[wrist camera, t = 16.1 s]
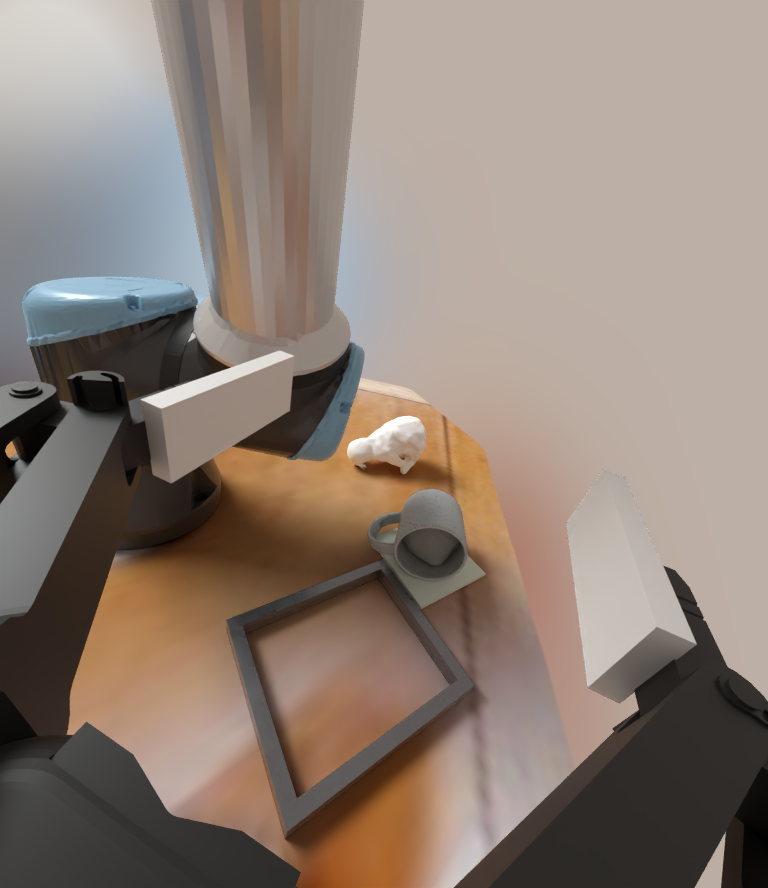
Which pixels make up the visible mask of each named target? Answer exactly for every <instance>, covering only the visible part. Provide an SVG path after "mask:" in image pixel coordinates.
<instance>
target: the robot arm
mask: <svg viewBox="0 0 768 888" xmlns="http://www.w3.org/2000/svg"><path fill="white" fill-rule="evenodd" d="M151 2H152V7H153V12H154V17H155V22H156V27H157V32H158V37H159V42H160V47H161V52H162V57H163V62H164V67H165V72H166V77H167V82H168V87H169V92H170V97H171V102H172V107H173V112H174V117H175V122H176V127H177V132H178V137H179V142H180V147H181V152H182V156H183V162H184V167H185V172H186V177H187V182H188V186H189V192H190V197H191V202H192V207H193V212H194V217H195V222H196V227H197V231H198V237H199V242H200V247H201V252H202V257H203V261H204V267H205V271H206V277H207V282H208V287H209V292H210V295H209V296H208V297H207V298H206V299H204V300H203V301H202V303H201V304H200V305H199V306H198V308H196V305H197V303H198V300H197V298H196V297H195V294H194V292H193V290H192V289H191V288H190V287H189V286H187V285H183V284H181V283H178V282H174V281H168V280H160V279H150V278H135V277H82V278H68V279H59V280H53V281H48V282H44V283H40V284H38V285H35V286H33V287H31V288H30V289H29V290H28V291H27V292H26V294H25V295H24V297H23V303H22V307H23V312H24V316H25V321H26V325H27V331H28V335H29V338H27V342H28V344H29V346H30V349H31V352H32V355H33V358H34V361H35V364H36V367H37V370H38V373H39V376H40V379H41V382H34V381H26V382H25V381H22V382H17V383H14V384H8V385H5V386H3V387H0V888H297V887H296V883H297V881H298V878H299V875H300V873H301V872H299V871H298V870H297V869H295V868H294V867H292V866H291V865H290V864H288V863H287V862H285V861H284V860H282V859H281V858H280V857H278V856H277V855H275V854H274V853H272V852H271V851H270V850H268V849H267V848H265V847H264V846H262V845H261V844H260V843H258V842H257V841H255V840H254V839H253V838H251V837H250V836H248V835H247V834H245V833H244V832H243V831H239V830H235V829H230V828H225V827H221V826H216V825H212V824H207V823H202V822H198V821H193V820H189V819H184V818H179V817H176V816H173V815H171V814H170V813H169V812H168V811H167V810H166V808H165V807H164V805H163V803H162V802H161V800H160V798H159V797H158V795H157V793H156V792H155V790H154V788H153V787H152V785H151V783H150V782H149V780H148V778H147V777H146V775H145V773H144V772H143V770H142V768H141V767H140V765H139V763H138V762H137V760H136V758H135V757H134V755H133V754H132V753H130V752H129V751H127V750H126V749H124V748H123V747H122V746H120V745H119V744H117V743H116V742H115V741H113V740H112V739H110V738H109V737H107V736H106V735H105V734H103V733H102V732H100V731H99V730H97V729H96V728H95V727H93V726H92V725H90V724H89V723H87V722H86V723H85V724H84V725H83V726H82V727H81V728H80V729H79V730H78V731H77V732H76V733H75V734H74V735H66V734H67V730H68V724H69V717H70V691H71V687H72V683H73V680H74V677H75V674H76V671H77V668H78V665H79V662H80V659H81V656H82V653H83V650H84V647H85V643H86V640H87V637H88V634H89V631H90V628H91V625H92V622H93V619H94V616H95V613H96V610H97V607H98V604H99V601H100V598H101V595H102V592H103V589H104V586H105V583H106V580H107V577H108V574H109V571H110V568H111V565H112V562H113V559H114V556H115V553H116V550H123V549H137V548H144V547H149V546H154V545H158V544H161V543H165V542H168V541H170V540H173V539H176V538H178V537H180V536H182V535H185V534H187V533H188V532H190V531H192V530H194V529H195V528H197V527H198V526H200V525H201V524H202V523H203V522H205V521H206V520H207V519H208V518H209V517H210V516H211V515H212V514H213V512H214V511H215V510H216V508H217V506H218V504H219V502H220V499H221V477H220V472H219V470H218V467H217V465H216V463H215V461H214V459H213V458H214V457H215V456H217V455H219V454H220V453H222V452H223V451H225V450H227V449H228V448H230V447H236V448H241V449H246V450H251V451H256V452H261V453H266V454H271V455H276V456H280V457H285V458H287V459H290V460H295V459H304V460H311V461H324V460H327V459H329V458H330V457H331V456H332V455H333V454H334V453H335V452H336V450H337V448H338V446H339V444H340V441H341V439H342V436H343V434H344V431H345V428H346V425H347V422H348V419H349V415H350V408H351V407H352V405H353V401H354V398H355V396H356V392H357V389H358V385H359V381H360V377H361V373H362V368H363V363H364V350H363V349H362V348H361V347H360V346H357V345H356V344H355V343H354V342H350V326H349V322H348V320H347V318H346V316H345V315H344V313H343V312H342V311H341V310H340V308H339V307H338V306H337V305H336V304H335V303H334V302H335V292H336V282H337V271H338V262H339V251H340V242H341V231H342V221H343V211H344V200H345V189H346V180H347V169H348V159H349V149H350V138H351V129H352V118H353V108H354V98H355V87H356V77H357V67H358V56H359V46H360V36H361V26H362V16H363V5H364V0H151ZM11 441H12V442H13V444H14V446H15V449H16V451H17V454H15V455H14V456H13V457H11V458H8V457H7V455H6V453H5V449H6V446H7V445H8V444H9V443H10V442H11ZM566 523H567V530H568V538H569V546H570V554H571V562H572V570H573V578H574V586H575V593H576V601H577V609H578V617H579V625H580V633H581V640H582V648H583V656H584V664H585V672H586V680H587V687H588V688H589V689H591V690H593V691H595V692H597V693H599V694H601V695H603V696H606V697H608V698H610V699H612V700H614V701H616V702H618V703H621V702H622V701H623V700H625V699H626V698H627V697H629V696H630V695H631V694H633V693H634V692H635V695H636V699H637V703H638V707H639V710H638V711H637V712H635V713H634V714H632V715H631V716H630V717H628V718H627V719H625V720H624V721H622V722H621V723H620V724H618V725H617V726H615V727H614V728H613V730H614V732H613V733H612V734H611V735H610V736H609V737H608V738H607V739H606V740H605V741H604V742H603V743H602V744H601V745H600V746H599V747H598V748H597V749H596V750H595V751H594V752H593V753H592V754H591V755H590V756H589V757H588V758H587V759H586V760H584V761H583V763H581V764H580V765H579V766H578V767H577V768H576V769H575V770H574V771H573V772H572V773H571V774H570V775H569V776H568V777H567V778H566V779H565V780H564V781H563V782H562V783H561V784H560V785H559V786H558V787H557V788H556V789H555V790H554V791H553V792H552V793H551V794H550V795H548V796H547V797H546V798H545V799H544V800H543V801H542V802H541V803H540V804H539V805H538V806H537V807H536V808H535V809H534V810H533V811H532V812H531V813H530V814H529V815H528V816H527V817H526V818H525V819H524V820H523V821H522V822H521V823H520V824H519V825H518V826H517V827H516V828H515V829H514V830H512V831H511V832H510V833H509V834H508V835H507V836H506V837H505V838H504V839H503V840H502V841H501V842H500V843H499V844H498V845H497V846H496V847H495V848H494V849H493V850H492V851H491V852H490V853H489V854H488V855H487V856H486V857H485V858H484V859H483V860H482V861H481V862H480V863H479V864H478V865H476V866H475V867H474V868H473V869H472V870H471V871H470V872H469V873H468V874H467V875H466V876H465V877H464V878H463V879H462V880H461V881H460V882H459V883H458V884H457V885H456V886H455V887H454V888H694V887H695V886H696V884H697V882H698V880H699V879H700V877H701V875H702V873H703V871H704V870H705V868H706V866H707V864H708V862H709V860H710V859H711V857H712V855H713V853H714V851H715V850H716V848H717V846H718V844H719V843H720V841H721V839H722V837H723V835H724V834H725V832H726V838H725V850H724V860H723V872H722V883H721V888H768V701H767V700H766V699H765V697H764V696H763V695H762V694H761V693H760V692H759V691H758V690H757V689H756V688H755V687H754V686H753V685H752V684H751V683H750V682H749V681H747V680H746V679H745V678H743V677H742V676H741V675H739V674H738V673H737V672H735V671H734V670H731V669H730V668H728V667H727V665H726V663H725V661H724V659H723V656H722V654H721V652H720V650H719V648H718V646H717V644H716V642H715V640H714V638H713V636H712V634H711V632H710V629H709V628H708V625H707V623H706V621H704V620H703V618H704V617H703V615H702V613H701V611H700V609H699V607H697V602H696V600H695V598H694V596H693V594H692V592H691V590H690V588H689V586H688V585H687V584H686V583H685V582H684V581H683V580H682V578H681V577H680V576H679V575H678V574H677V572H676V571H675V570H673V569H670V568H668V567H665V566H663V564H662V562H661V560H660V557H659V555H658V553H657V550H656V548H655V545H654V543H653V541H652V539H651V536H650V534H649V532H648V529H647V527H646V524H645V522H644V520H643V517H642V515H641V513H640V511H639V508H638V506H637V503H636V501H635V499H634V496H633V494H632V492H631V489H630V487H629V485H628V482H627V480H626V478H625V477H623V476H620V475H618V474H615V473H612V472H609V471H607V470H603V471H602V472H601V473H600V475H599V476H598V478H597V480H596V481H595V482H594V484H593V485H592V487H591V488H590V490H589V491H588V492H587V494H586V495H585V497H584V498H583V499H582V501H581V502H580V504H579V505H578V507H577V508H576V509H575V511H574V512H573V514H572V515H571V517H570V518H569V520H568V521H567V522H566Z"/></svg>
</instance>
